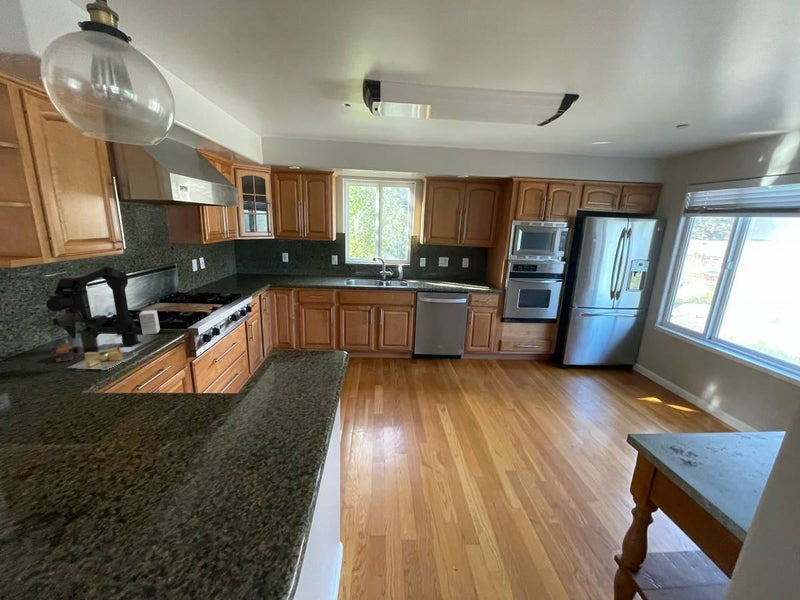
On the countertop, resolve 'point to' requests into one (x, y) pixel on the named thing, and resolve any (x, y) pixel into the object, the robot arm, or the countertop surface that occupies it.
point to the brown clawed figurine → (66, 352)
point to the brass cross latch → (102, 356)
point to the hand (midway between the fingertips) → (85, 337)
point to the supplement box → (149, 322)
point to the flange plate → (105, 362)
